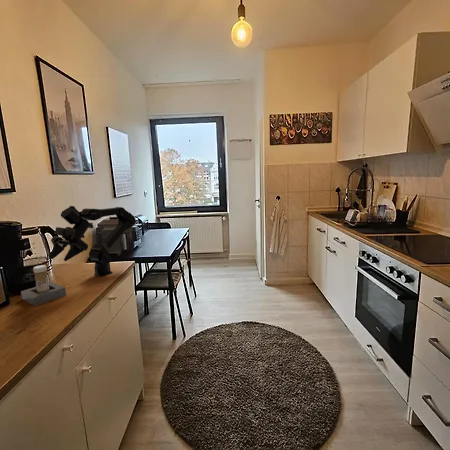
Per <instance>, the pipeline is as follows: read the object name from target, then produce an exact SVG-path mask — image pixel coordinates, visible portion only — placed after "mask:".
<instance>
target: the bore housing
mask: <svg viewBox="0 0 450 450" xmlns="http://www.w3.org/2000/svg"><path fill="white" fill-rule="evenodd" d="M48 283H49V291H46V292H43V293H40V294H38V293H37V288H36V286H34V287H31V288H27V289H24V290H21V291H20V294H21V300H22V299H23V301H24V300H25V301H24V302H26V303H27V304H30V305H32V306H34V307H37V306H40V305H42V304H45V303H48V302H52V301H53V300H56V299H59V298H63V297H65V296H67V289H66V287H65V286H63V285H60V284H57V283H55V282H53V281H51V282H48Z"/></svg>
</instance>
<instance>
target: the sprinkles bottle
mask: <svg viewBox="0 0 450 450" xmlns="http://www.w3.org/2000/svg"><path fill="white" fill-rule="evenodd" d="M32 269H33V274H34V279H35V280H34V281H35V287H36V288H37V293H38V294H40V293H43V292H46V291H49V283H50V282H49V277H48V271H47V270H48V268H47V265H45V264H43V265H36V266H34V267H33V268H32Z"/></svg>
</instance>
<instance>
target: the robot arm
mask: <svg viewBox="0 0 450 450" xmlns="http://www.w3.org/2000/svg"><path fill="white" fill-rule="evenodd" d="M110 216H115V217H116V220H118V221H117V225H116V227H114V228H113V230H112V231H111V232H110V233H109V234H108V236H107V237H106V238H105V239H104V240H103V241H102V242H101V243H95V244H94V245H93V246H92V247H91V248H90V250H89V252H88V257H89V259H90V260H91V262H92V263H93V264H94V275H95V276H98V277H104V276H107V275H110V274H112V273H113V271H111V264H110V263H111V262H112V261H113V257H112V256H111V255H110V250H111V249H112V247H113V246H114V245H115V243H116V242H117V241H118V240H119V239H120V237H122V235H123V234H124V233H125V232H126V231H127V230H129V229H131V228H132V227H134V226H135V225H136V223H137V218H136V217H135V216H134V215H133V214H132V212H129V211H127V210H126V209H125V208H124V207H122V206H116V207H108V208H100V209H99V208H82V210H81V211H79V210H78V209H77V208H76V207H75V206H74V205H69V206H68V207H67V208H65V209H64V210H62V212H60V217H61V218H62V219H64V220H65V221H66V222H67V223H68V224H69V225H70V226H66V227H58V226H57V227H55V231H54V233H53V234H54V236H52V238H51V239H50V242H51V243H52V251H51V255H50V259H51V260H53V259H55V258H56V257H58V256H59V255H60V254H61V253H62V252H63V251H65V249H66V248H67V246H69V249H68V252H67V253H66V254H65V257H64V258H63V261H64V262H67V261H69V260H71V259H72V258H74V257H76V256H78V255H79V254H80V253H84V252H86V251H87V250H88V248H89V244H88V243H86V242H85V241H84V240H83V239H84V238H85V237H86V235H85V233H86V232H87V231H88V229H94V225H93V222H90V221H98V220H100V219H101V218H104V217H110ZM71 225H73V226H72V227H71ZM55 235H57V236H55Z"/></svg>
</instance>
